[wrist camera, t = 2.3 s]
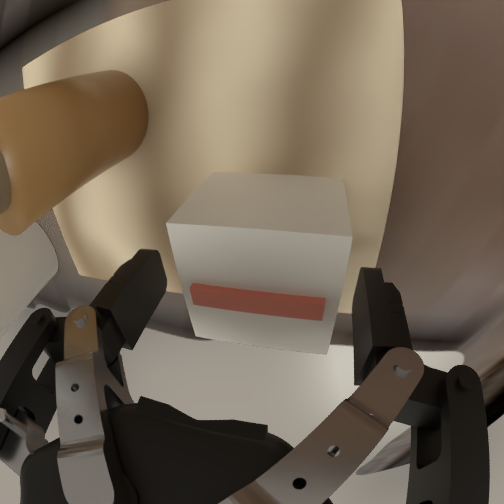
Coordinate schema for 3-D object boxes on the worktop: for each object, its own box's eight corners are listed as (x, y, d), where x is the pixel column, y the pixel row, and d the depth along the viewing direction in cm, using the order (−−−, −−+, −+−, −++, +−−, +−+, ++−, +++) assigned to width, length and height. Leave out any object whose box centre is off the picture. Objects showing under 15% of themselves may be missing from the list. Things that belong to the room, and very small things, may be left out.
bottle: (142, 59, 10) (-71, 117, 2) (155, 157, 12) (-7, 294, 5) (70, 83, 11) (-91, 154, 3) (85, 164, 13) (-49, 269, 6)
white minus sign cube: (342, 178, 11) (353, 243, 7) (329, 282, 14) (326, 360, 11) (212, 172, 12) (161, 227, 9) (224, 271, 16) (193, 341, 12)
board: (392, 3, 7) (401, -5, 6) (360, 296, 16) (361, 314, 15) (39, 63, 11) (22, 67, 10) (90, 263, 20) (79, 274, 19)
